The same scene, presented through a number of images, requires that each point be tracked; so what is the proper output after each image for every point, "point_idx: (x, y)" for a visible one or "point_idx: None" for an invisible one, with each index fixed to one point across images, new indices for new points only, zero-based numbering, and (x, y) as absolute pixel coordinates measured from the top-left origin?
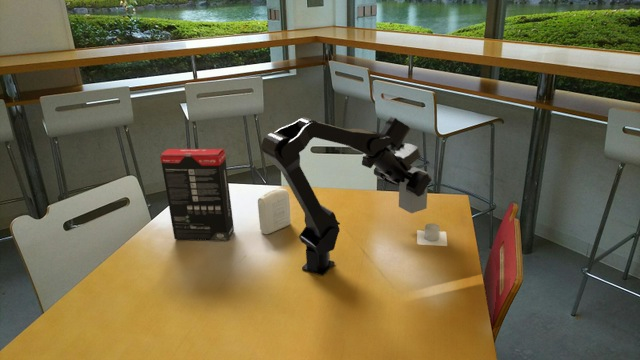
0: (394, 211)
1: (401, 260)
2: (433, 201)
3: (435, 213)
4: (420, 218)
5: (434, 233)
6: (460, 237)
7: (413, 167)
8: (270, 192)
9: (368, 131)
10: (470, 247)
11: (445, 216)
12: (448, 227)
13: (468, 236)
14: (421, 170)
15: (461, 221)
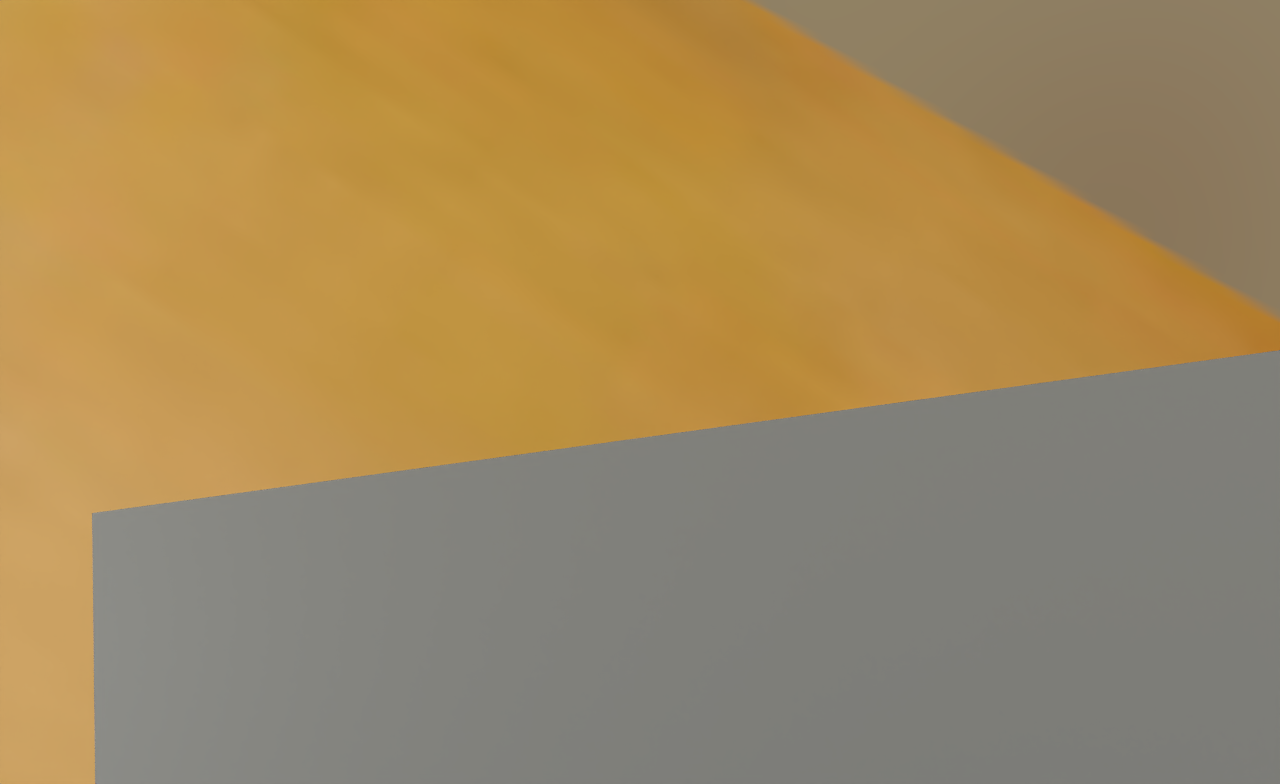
0: (53, 606)
1: None
2: (115, 4)
3: (407, 174)
4: (427, 409)
5: None
6: (1042, 286)
7: (118, 685)
8: None
9: None
10: (1269, 330)
11: (535, 123)
12: (786, 257)
13: (1053, 200)
14: (1146, 476)
15: (725, 52)
